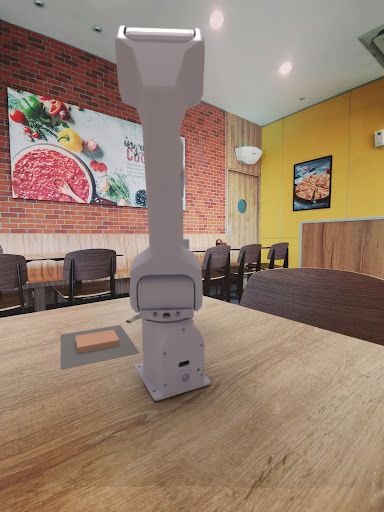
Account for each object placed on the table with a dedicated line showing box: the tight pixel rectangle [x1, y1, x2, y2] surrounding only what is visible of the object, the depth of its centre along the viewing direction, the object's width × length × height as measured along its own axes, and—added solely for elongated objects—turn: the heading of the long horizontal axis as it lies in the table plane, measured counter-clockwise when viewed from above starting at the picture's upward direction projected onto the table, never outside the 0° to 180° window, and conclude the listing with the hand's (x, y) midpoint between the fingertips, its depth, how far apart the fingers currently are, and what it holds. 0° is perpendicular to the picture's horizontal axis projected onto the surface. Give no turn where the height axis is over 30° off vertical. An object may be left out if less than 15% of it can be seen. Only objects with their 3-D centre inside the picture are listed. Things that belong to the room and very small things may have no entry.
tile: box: [75, 330, 120, 354], centre depth 47 cm, size 1×7×6 cm
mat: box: [60, 324, 141, 371], centre depth 48 cm, size 16×12×1 cm
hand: (171, 281), depth 56 cm, fingers closed
